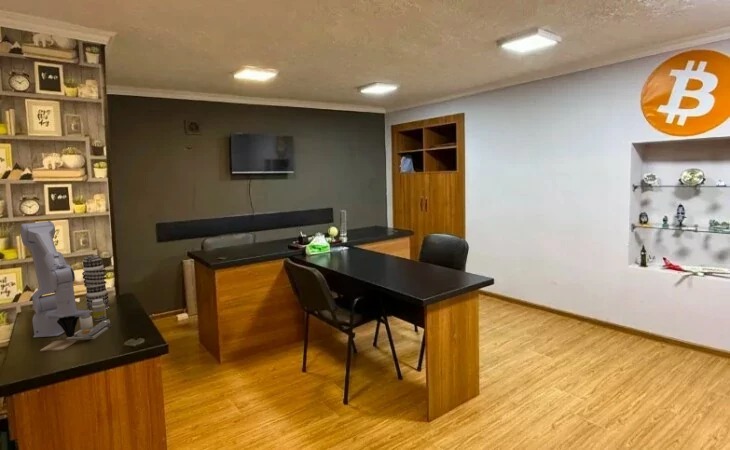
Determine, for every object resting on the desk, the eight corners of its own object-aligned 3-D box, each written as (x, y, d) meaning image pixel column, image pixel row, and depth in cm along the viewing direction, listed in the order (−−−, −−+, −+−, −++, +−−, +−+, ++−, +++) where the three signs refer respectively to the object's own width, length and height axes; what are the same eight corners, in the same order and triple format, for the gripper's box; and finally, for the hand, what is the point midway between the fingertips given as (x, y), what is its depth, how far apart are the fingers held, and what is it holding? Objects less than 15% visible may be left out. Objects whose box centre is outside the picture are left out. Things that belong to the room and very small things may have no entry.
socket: (66, 340, 159) (66, 338, 159) (82, 330, 169) (81, 328, 169) (93, 338, 160) (93, 336, 160) (108, 329, 170) (107, 327, 170)
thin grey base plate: (100, 329, 170) (100, 325, 170) (104, 326, 173) (104, 322, 172) (108, 328, 170) (107, 324, 170) (111, 326, 173) (111, 322, 172)
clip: (81, 338, 157) (80, 331, 157) (104, 322, 172) (103, 317, 172) (89, 337, 157) (88, 331, 157) (111, 322, 173) (111, 316, 172)
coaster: (40, 351, 150) (39, 350, 150) (54, 342, 158) (54, 341, 158) (63, 350, 151) (63, 348, 151) (77, 340, 159) (77, 339, 158)
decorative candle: (115, 307, 198) (108, 254, 194) (95, 313, 189) (88, 258, 186) (102, 305, 201) (95, 253, 198) (82, 311, 193) (75, 257, 190)
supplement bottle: (97, 317, 184) (95, 298, 183) (108, 316, 185) (106, 298, 183) (91, 321, 179) (88, 302, 178) (103, 320, 180) (100, 301, 179)
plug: (73, 338, 161) (70, 320, 160) (84, 331, 168) (81, 314, 167) (92, 337, 161) (89, 319, 160) (101, 330, 168) (99, 313, 167)
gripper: (37, 305, 150) (42, 341, 152) (79, 302, 151) (84, 339, 153) (50, 299, 157) (55, 334, 159) (91, 296, 158) (95, 331, 160)
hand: (70, 336), depth 156 cm, fingers closed
